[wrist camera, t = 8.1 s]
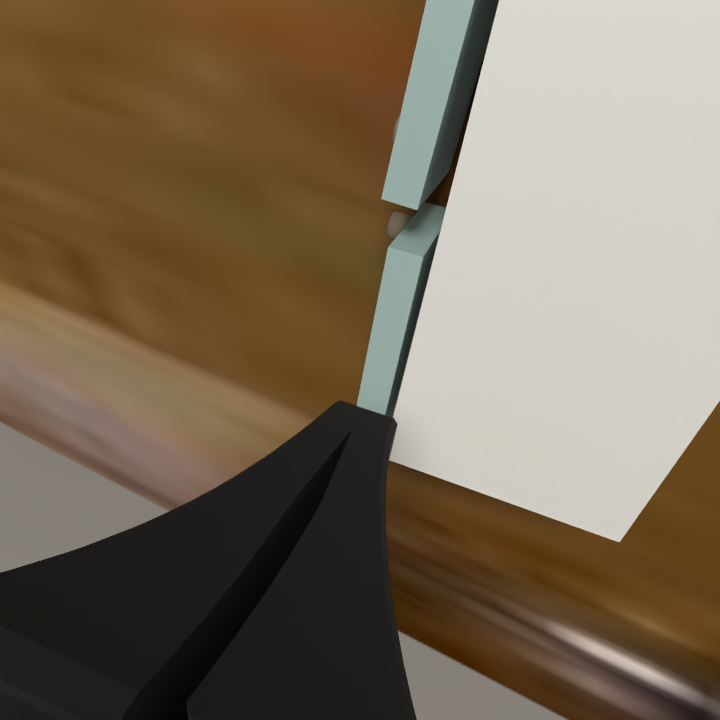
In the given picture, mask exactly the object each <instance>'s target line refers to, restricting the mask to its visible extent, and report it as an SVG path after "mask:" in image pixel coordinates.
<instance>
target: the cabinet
mask: <svg viewBox="0 0 720 720" xmlns="http://www.w3.org/2000/svg"><path fill="white" fill-rule="evenodd" d="M387 237H388V238H391V239H394V241H393V242H392V243H391V244H390V246H389V247H388V251H387V256H386V261H385V266H384V271H383V276H382V281H381V286H380V291H379V296H378V301H377V306H376V311H375V316H374V321H373V326H372V331H371V336H370V341H369V346H368V351H367V356H366V361H365V367H364V372H363V377H362V382H361V387H360V392H359V397H358V402H357V406H358V407H362V408H365V409H368V410H371V411H374V412H377V413H380V414H383V415H386V416H389V417H391V416H392V414H393V411H394V409H395V411H394V415H393V418H394V419H395V421H396V422H397V424H398V425H397V429H396V433H395V438H394V442H393V446H392V450H391V454H390V458H389V460H390V461H393V462H396V463H399V464H401V465H404V466H407V467H410V468H413V469H415V470H418V471H421V472H424V473H427V474H429V475H432V476H435V477H438V478H441V479H443V480H446V481H449V482H452V483H455V484H457V485H460V486H463V487H466V488H469V489H471V490H474V491H477V492H480V493H483V494H485V495H488V496H491V497H494V498H497V499H499V500H502V501H505V502H508V503H511V504H513V505H516V506H519V507H522V508H525V509H527V510H530V511H533V512H536V513H539V514H541V515H544V516H547V517H550V518H553V519H555V520H558V521H561V522H564V523H567V524H569V525H572V526H575V527H578V528H581V529H583V530H586V531H589V532H592V533H595V534H597V535H600V536H603V537H606V538H609V539H611V540H614V541H617V542H620V541H621V539H622V538H623V537H624V535H625V534H626V532H627V531H628V529H629V528H630V527H631V525H632V524H633V522H634V521H635V520H636V518H637V517H638V515H639V514H640V513H641V511H642V510H643V508H644V507H645V505H646V504H647V503H648V501H649V500H650V498H651V497H652V496H653V494H654V493H655V491H656V490H657V489H658V487H659V486H660V484H661V483H662V481H663V480H664V479H665V477H666V476H667V474H668V473H669V472H670V470H671V469H672V467H673V466H674V464H675V463H676V462H677V460H678V459H679V457H680V456H681V455H682V453H683V452H684V450H685V449H686V448H687V446H688V445H689V443H690V442H691V440H692V439H693V438H694V436H695V435H696V433H697V432H698V431H699V429H700V428H701V426H702V425H703V424H704V422H705V421H706V419H707V418H708V416H709V415H710V414H711V412H712V411H713V409H714V408H715V407H716V405H717V404H718V402H719V401H720V0H499V3H498V7H497V10H496V14H495V18H494V22H493V26H492V30H491V34H490V38H489V42H488V46H487V50H486V54H485V58H484V62H483V65H482V69H481V73H480V77H479V81H478V85H477V89H476V93H475V97H474V101H473V105H472V109H471V113H470V117H469V121H468V124H467V128H466V132H465V136H464V140H463V144H462V148H461V152H460V156H459V160H458V164H457V168H456V172H455V176H454V179H453V183H452V187H451V191H450V195H449V199H448V203H447V207H446V208H445V207H442V206H438V205H434V204H430V203H426V202H425V203H424V204H423V205H422V206H421V208H420V209H419V210H418V211H417V213H416V214H415V215H414V216H412V215H408V214H404V213H401V212H397V211H394V212H393V213H392V215H391V218H390V221H389V224H388V229H387Z"/></svg>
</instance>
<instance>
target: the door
mask: <svg viewBox="0 0 720 720" xmlns="http://www.w3.org/2000/svg"><path fill="white" fill-rule="evenodd" d="M498 3H499V0H427V1H426V5H425V9H424V14H423V18H422V23H421V27H420V31H419V36H418V40H417V45H416V49H415V53H414V58H413V62H412V66H411V71H410V75H409V80H408V84H407V88H406V93H405V97H404V102H403V106H402V110H401V114H400V115H399V117H398V119H397V122H396V125H395V128H394V132H393V138H392V143H393V144H394V145H393V150H392V154H391V159H390V163H389V167H388V172H387V176H386V181H385V185H384V189H383V194H382V198H381V199H383V200H386V201H389V202H393V203H396V204H399V205H402V206H405V207H408V208H412V209H415V210H418V209H419V208H420V207H421V205H422V204H423V203H424V202H425V200H426V199H427V198H428V197H429V196H430V194H431V193H432V192H433V191H434V190H435V188H436V187H437V186H438V185H439V183H440V182H441V181H442V180H443V179H444V177H445V176H446V175H447V174H448V173H449V171H450V168H451V165H452V161H453V158H454V155H455V151H456V148H457V144H458V141H459V138H460V134H461V131H462V127H463V124H464V121H465V117H466V114H467V111H468V107H469V104H470V100H471V97H472V94H473V90H474V87H475V83H476V80H477V77H478V73H479V70H480V67H481V63H482V60H483V56H484V53H485V50H486V46H487V43H488V39H489V36H490V33H491V29H492V26H493V22H494V18H495V14H496V10H497V7H498Z"/></svg>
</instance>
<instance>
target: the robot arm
mask: <svg viewBox="0 0 720 720" xmlns="http://www.w3.org/2000/svg"><path fill="white" fill-rule="evenodd" d="M397 425H398V424H397V422H396V421H395V419H394V418H392V417H389V416H386V415H383V414H380V413H377V412H374V411H371V410H368V409H365V408H362V407H358V406H355V405H352V404H349V403H346V402H343V401H338V402H336V403H334V404H333V405H332V406H331V407H329V408H328V409H327V410H326V411H325V412H324V413H322V414H321V415H320V416H319V417H318V418H316V419H315V420H314V421H313V422H312V423H310V424H309V425H308V426H306V427H305V428H304V429H303V430H301V431H300V432H299V433H298V434H296V435H295V436H294V437H292V438H291V439H289V440H288V441H287V442H285V443H284V444H283V445H281V446H280V447H278V448H277V449H276V450H274V451H273V452H272V453H270V454H269V455H267V456H266V457H264V458H263V459H261V460H260V461H258V462H256V463H255V464H253V465H252V466H250V467H249V468H247V469H246V470H244V471H243V472H241V473H239V474H238V475H236V476H235V477H233V478H231V479H230V480H228V481H226V482H225V483H223V484H221V485H219V486H218V487H216V488H214V489H212V490H211V491H209V492H207V493H205V494H203V495H201V496H199V497H197V498H196V499H194V500H192V501H190V502H188V503H186V504H184V505H182V506H179V507H177V508H175V509H173V510H171V511H169V512H167V513H165V514H163V515H161V516H159V517H157V518H154V519H152V520H150V521H147V522H145V523H143V524H141V525H138V526H136V527H134V528H131V529H128V530H126V531H123V532H121V533H118V534H116V535H113V536H110V537H108V538H105V539H102V540H100V541H97V542H95V543H92V544H90V545H87V546H85V547H81V548H79V549H76V550H73V551H70V552H67V553H64V554H60V555H57V556H54V557H51V558H48V559H44V560H41V561H38V562H35V563H32V564H28V565H25V566H22V567H19V568H15V569H12V570H9V571H5V572H1V573H0V720H417V719H416V715H415V711H414V707H413V703H412V699H411V695H410V690H409V686H408V681H407V677H406V673H405V668H404V663H403V658H402V653H401V647H400V641H399V636H398V630H397V625H396V619H395V614H394V607H393V600H392V592H391V585H390V576H389V566H388V555H387V541H386V476H387V467H388V462H389V458H390V454H391V450H392V446H393V442H394V438H395V433H396V429H397Z"/></svg>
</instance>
